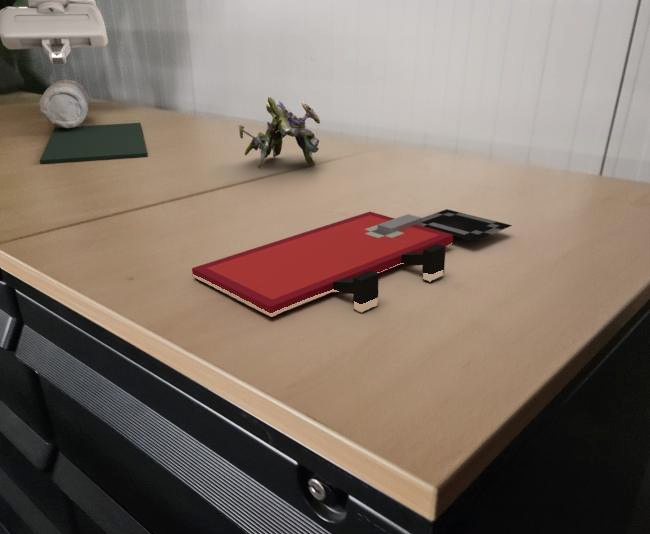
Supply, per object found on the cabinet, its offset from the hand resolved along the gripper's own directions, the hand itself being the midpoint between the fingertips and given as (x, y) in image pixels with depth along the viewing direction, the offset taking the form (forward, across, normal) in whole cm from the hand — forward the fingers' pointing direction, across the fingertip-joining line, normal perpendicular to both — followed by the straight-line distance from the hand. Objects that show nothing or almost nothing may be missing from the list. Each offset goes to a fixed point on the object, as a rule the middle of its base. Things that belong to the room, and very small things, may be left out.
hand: (58, 61), depth 124 cm
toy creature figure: (+46, +33, -30) cm, 64 cm away
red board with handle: (+74, +32, -57) cm, 99 cm away
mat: (+26, +6, -10) cm, 29 cm away
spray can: (+3, 0, +7) cm, 8 cm away
